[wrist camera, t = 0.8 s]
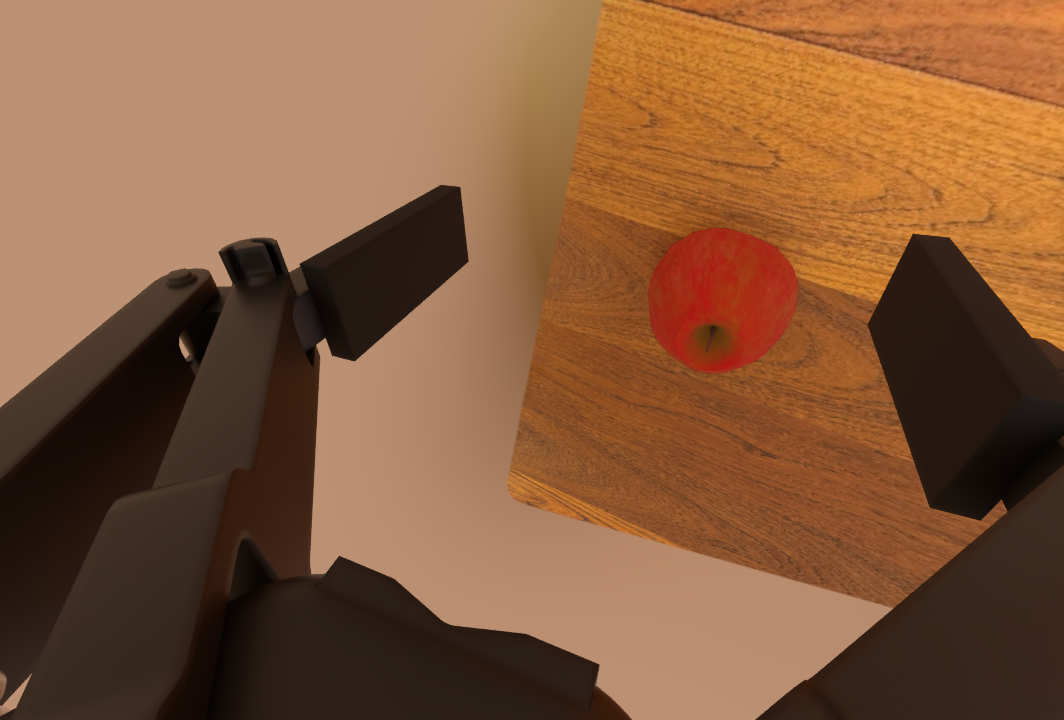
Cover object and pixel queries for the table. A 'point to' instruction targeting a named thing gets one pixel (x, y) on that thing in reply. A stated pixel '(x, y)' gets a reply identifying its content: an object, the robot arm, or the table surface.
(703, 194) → the table surface
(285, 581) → the robot arm
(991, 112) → the table surface
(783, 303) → the apple
